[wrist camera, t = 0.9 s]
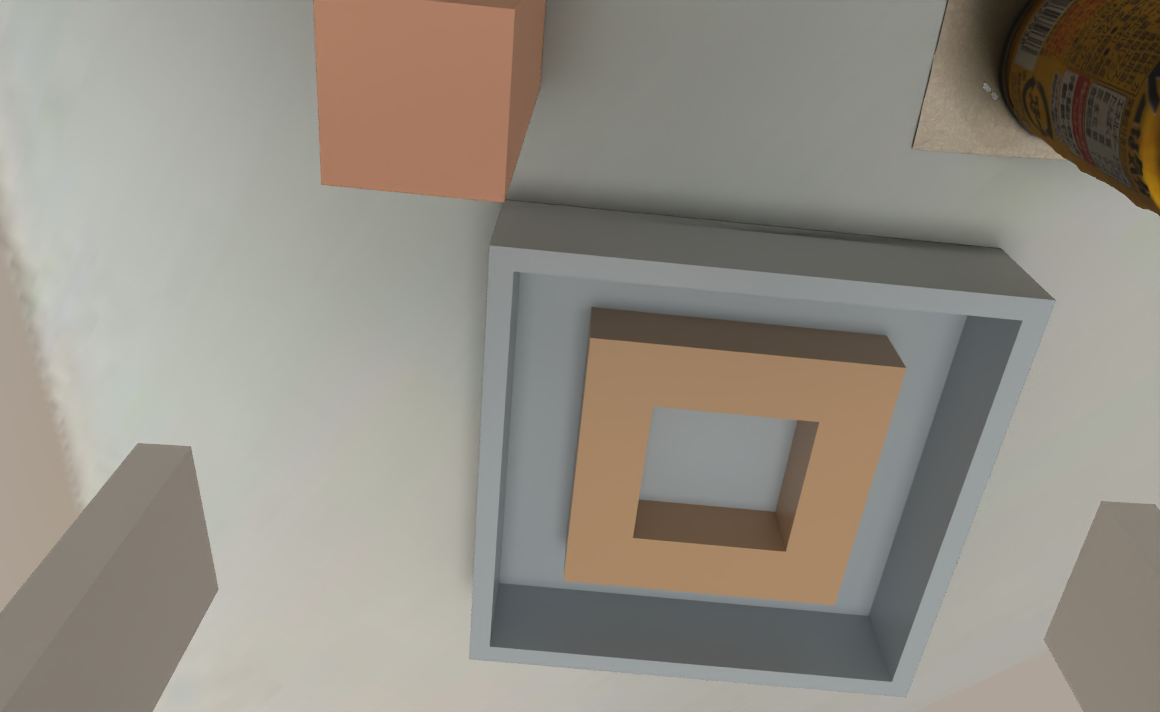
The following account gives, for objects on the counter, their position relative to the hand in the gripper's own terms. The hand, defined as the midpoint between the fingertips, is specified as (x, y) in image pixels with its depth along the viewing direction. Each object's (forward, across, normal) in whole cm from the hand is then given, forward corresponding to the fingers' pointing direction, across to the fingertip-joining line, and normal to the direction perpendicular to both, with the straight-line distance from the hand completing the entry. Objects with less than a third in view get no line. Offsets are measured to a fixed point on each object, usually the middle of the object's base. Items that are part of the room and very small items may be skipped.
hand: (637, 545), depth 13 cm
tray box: (+20, +4, -11) cm, 24 cm away
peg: (+20, -5, +4) cm, 21 cm away
